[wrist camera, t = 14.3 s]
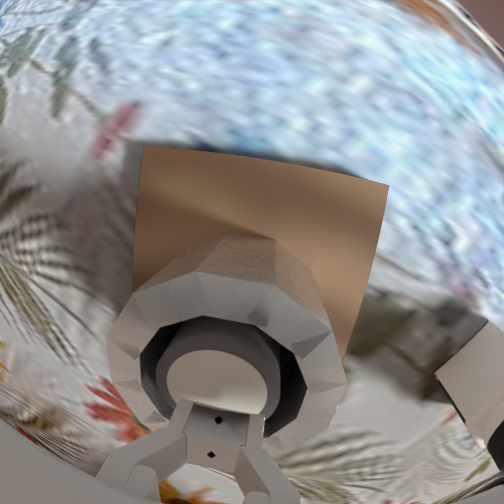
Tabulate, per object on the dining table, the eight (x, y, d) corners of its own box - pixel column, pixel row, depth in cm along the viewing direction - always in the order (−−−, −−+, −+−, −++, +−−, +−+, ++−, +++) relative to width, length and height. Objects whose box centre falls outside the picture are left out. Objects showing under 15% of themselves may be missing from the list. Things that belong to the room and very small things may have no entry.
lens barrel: (300, 386, 18) (305, 468, 11) (162, 360, 19) (121, 430, 12) (338, 251, 16) (378, 301, 9) (169, 222, 16) (102, 252, 9)
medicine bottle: (431, 372, 20) (491, 471, 9) (489, 318, 19) (571, 392, 7) (453, 405, 21) (499, 487, 9) (503, 359, 19) (564, 427, 8)
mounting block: (312, 407, 22) (314, 427, 19) (148, 376, 22) (137, 393, 20) (375, 184, 17) (389, 185, 15) (159, 149, 18) (143, 146, 15)
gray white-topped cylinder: (271, 364, 17) (267, 439, 11) (190, 349, 17) (157, 416, 11) (288, 289, 16) (293, 352, 10) (196, 273, 16) (153, 325, 10)
